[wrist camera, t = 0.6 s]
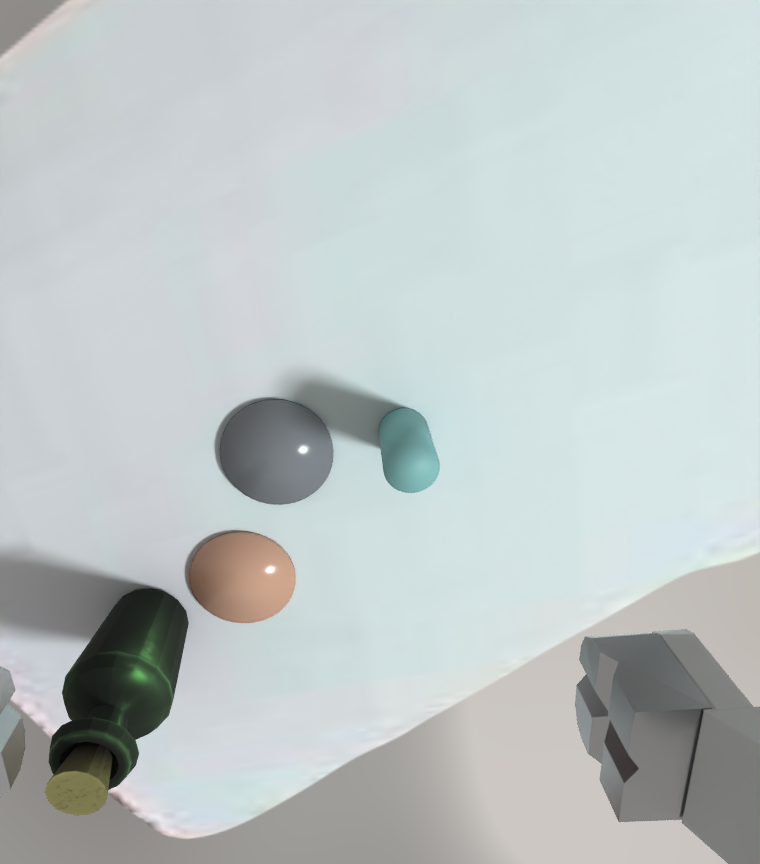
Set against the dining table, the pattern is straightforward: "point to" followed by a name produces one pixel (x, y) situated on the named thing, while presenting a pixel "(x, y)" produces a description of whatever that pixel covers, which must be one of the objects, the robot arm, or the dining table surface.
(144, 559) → the dining table surface
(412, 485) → the marker peg
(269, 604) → the tan round disc
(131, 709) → the potion bottle
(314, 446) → the grey flat disc
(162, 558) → the dining table surface
